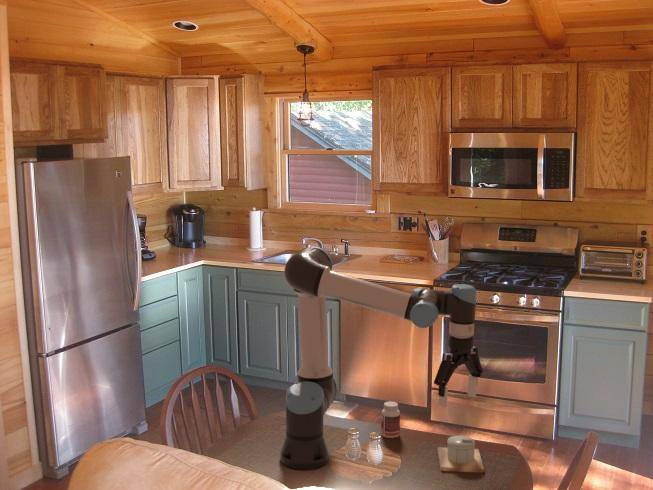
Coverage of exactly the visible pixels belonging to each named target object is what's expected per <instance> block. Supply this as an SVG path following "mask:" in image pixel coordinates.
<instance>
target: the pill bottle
mask: <svg viewBox="0 0 653 490" xmlns="http://www.w3.org/2000/svg"><path fill="white" fill-rule="evenodd" d="M400 427H401V411H400V410H399V403H398V402H396V401H385V402H384V404H383V409H382V410H381V430H380V431H381V436H382V437H384V438H387V439H388V438H389V439H395V437H396V438H398V437H399V436H400V432H401V431H400V430H401V429H400Z"/></svg>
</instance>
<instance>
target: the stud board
mask: <svg viewBox="0 0 653 490" xmlns="http://www.w3.org/2000/svg"><path fill="white" fill-rule="evenodd" d="M436 452H437V456H438V461H439V463H438V464H439V469H440V472H458V473H460V472H461V473H463V472H464V473H483V474H484V473H485V468H484V464H483V461H482V457H481V453H480V450H479V448H475V450H474V461H472V462H470V463H468V464H458V463H454V462H452V461H450V460H448V457H447V447H440V446H437V451H436Z"/></svg>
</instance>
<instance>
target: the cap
mask: <svg viewBox="0 0 653 490" xmlns="http://www.w3.org/2000/svg"><path fill="white" fill-rule="evenodd" d="M446 441H447V447H446V448H447V457H448V460H450V461H452V462H454V463H458V464H468V463H470V462H472V461H474V450H475V449H476V448H475V447H476V444H475V443H476V441H475V440H474V439H473V438H472V437H469V436H467V435H466V436H465V435H452V436H450V437H448V438H447V440H446Z"/></svg>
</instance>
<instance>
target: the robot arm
mask: <svg viewBox="0 0 653 490" xmlns="http://www.w3.org/2000/svg"><path fill="white" fill-rule="evenodd" d="M284 266H285V267H284V277H285V280H286V282H287V283H288V284H289V286H290V287H291V288H293V292H294V293H295V294H296V295H297V297H298V309H299V310H298V311H299V314H298V315H299V329H300V330H299V331H300V333H299V334H300V351H301V352H300V355H301V358H300V359H301V367H300V368H299V370H297V383H293V384H292V385H290V386H289V387H288V388H287V390H286V393H285V399H284V400H285V437H284V439H283V440H284V441H283V443H282V446H281V450H280V452H279V453H280V454H279V457H280V458H279V460H280V463H281V464H282V465H284V466H285V467H287V468H289V469H293V470H302V471H309V470H310V471H311V470H315V469H319V468H321V467H322V468H323V466H325V465H326V464H328V463H329V460H328V459H329V455H330V453H329V449H328V447H327V443H326V441H325V437H324V417H325V414H326V412H327V411H328V410H329V409H330V407H331V405H332V404H333V403H334V401H335V399H336V396H337V393H338V383H337V380H336V378H334V369H332V367H330V366H329V356H328V353H329V352H328V348H329V347H328V330H327V329H328V327H327V326H328V325H327V303H326V301H327V300H326V299H327V297H330V298H332V299H333V298H334V299H337V300H340V301H343V302H347V303H350V304H354V305H356V306H361V307H363V308H367V309H369V310H374V311H377V312H381V313H383V314H387V315H391V316H394V317H397V318H400V319H403V320H407V321H410V322H411V323H412V324H413V325H414V326H415V327H418V328H420V329H427V328H430V327H431V326H433V324H434V323H435V322H436V321H437V319H438V317H439V315H441V316H449V328H448V334H449V335H448V347H449V348H450V351H449V353H447V352H443V353H442V356H441V360H440V361H441V362H440V364H439V367H438V369H437V372H436V375H435V378H434V381H433V384H434V385H435V386H438V406H441V407H443V408H447V407H448V395H449V394H448V393H449V386H448V383H449V381H450V379H451V377H452V376H453V374H454V373H455V371H456V369H458V367H460V366H461V365H464V366H465V367H466V369H467V371H468V372H469V375H468V380H467V381H468V383H467V396H469V397H472V398H476V396H477V386H478V378H481V377H482V374H483V372H484V371H483V367H482V364H481V361H480V357H479V353H478V352H479V351H478V349H479V348H478V347H476V346H474V340H475V339H474V335H475V320H476V309H477V289H476V287H475V286H473V285H470V284H465V283H461V284H460V283H457V284H456V283H455V284H453V285H452V286H451V289H450V290H443V289H441V290H440V289H430V288H424V287H423V288H414V289H412V292H411V293H409V292H405V291H402V290H398V289H394V288H391V287H389V286H384V285H381V284H377V283H375V282H371V281H368V280H364V279H361V278H357V277H354V276H351V275H346V274H343V273H339V272H338V271H337V272H336V271H334V270H333V261H332V257H331V255H330V254H329V253H328V252H327V251H326V250H325V249H324V248H322V247H319V246H309V247H304V248H302V249H301V250H299V251H298V252H297V253H296V254H294V255H292V256H290V258H289V259H287V261H286V263H285V265H284Z"/></svg>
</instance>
